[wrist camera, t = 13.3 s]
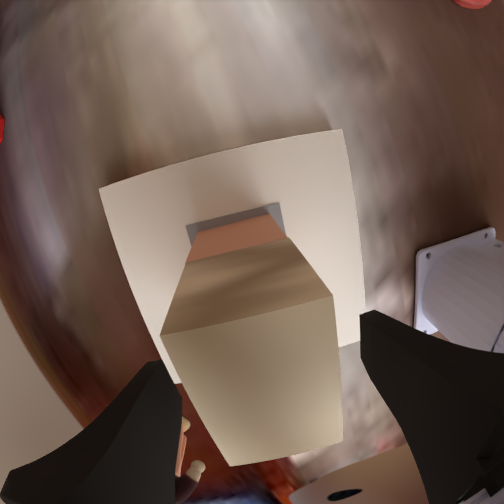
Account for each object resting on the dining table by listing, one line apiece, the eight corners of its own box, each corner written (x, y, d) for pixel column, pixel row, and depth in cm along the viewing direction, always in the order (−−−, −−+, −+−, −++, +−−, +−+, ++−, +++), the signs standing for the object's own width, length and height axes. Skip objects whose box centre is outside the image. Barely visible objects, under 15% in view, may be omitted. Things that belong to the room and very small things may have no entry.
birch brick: (289, 237, 11) (332, 295, 6) (310, 359, 13) (342, 441, 8) (186, 262, 11) (159, 335, 6) (227, 378, 13) (230, 466, 8)
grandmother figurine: (157, 442, 23) (142, 551, 11) (128, 422, 22) (100, 535, 10) (217, 419, 22) (219, 549, 10) (187, 395, 21) (174, 537, 9)
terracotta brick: (269, 213, 16) (287, 237, 11) (290, 309, 18) (310, 359, 13) (197, 232, 16) (184, 263, 11) (226, 324, 18) (227, 379, 13)
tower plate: (333, 130, 16) (342, 128, 15) (358, 327, 20) (366, 339, 19) (108, 186, 16) (97, 188, 15) (176, 370, 20) (174, 384, 19)
